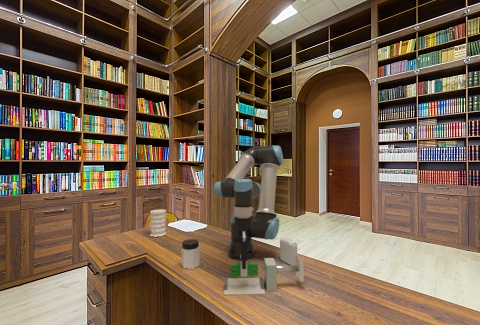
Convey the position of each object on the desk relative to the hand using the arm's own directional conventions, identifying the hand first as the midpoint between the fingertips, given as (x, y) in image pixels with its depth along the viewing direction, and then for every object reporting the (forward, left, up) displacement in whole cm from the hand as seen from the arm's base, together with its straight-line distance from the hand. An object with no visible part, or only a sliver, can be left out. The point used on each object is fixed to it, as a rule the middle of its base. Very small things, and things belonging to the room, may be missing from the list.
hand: (243, 273), depth 90 cm
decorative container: (-69, -59, -6) cm, 91 cm away
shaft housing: (0, +11, -6) cm, 12 cm away
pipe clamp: (0, 0, -1) cm, 1 cm away
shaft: (0, +16, -3) cm, 16 cm away
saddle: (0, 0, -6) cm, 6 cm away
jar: (-20, -26, -6) cm, 33 cm away
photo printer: (-22, +24, -6) cm, 33 cm away
